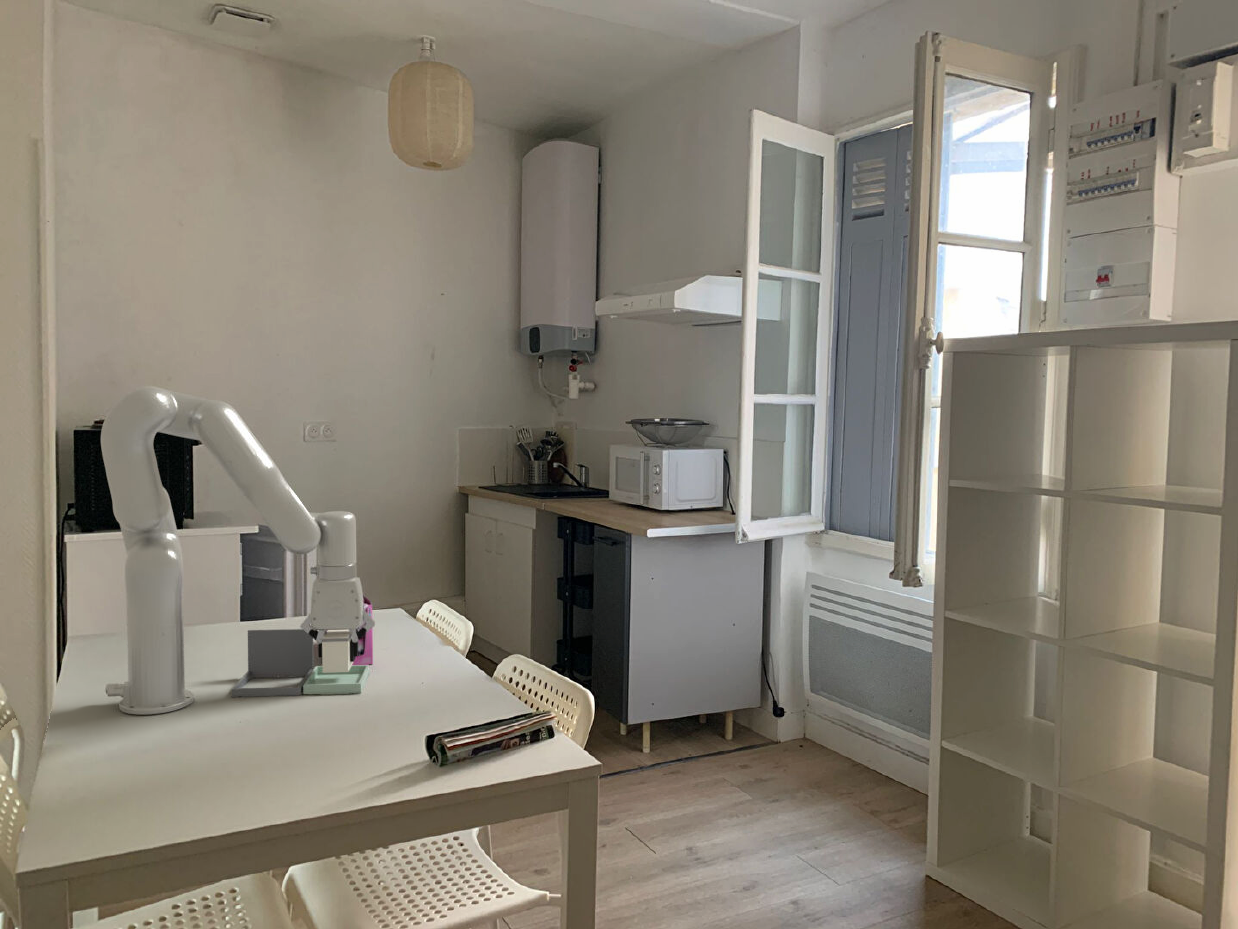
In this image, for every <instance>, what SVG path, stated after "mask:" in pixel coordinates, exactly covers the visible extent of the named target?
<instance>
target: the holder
mask: <svg viewBox="0 0 1238 929" xmlns="http://www.w3.org/2000/svg"><path fill="white" fill-rule="evenodd" d="M313 670H314V638H313V637H311V636H310V635H309V633H307V632H305V631H304V630H303V629H301V628H285V629H284V628H283V629H281V628H279V629H248V630H247V672H246V673H245V674H243V675H242V677H241V678H240V679H239V680H238V681H237V683H236V684H235V685H234V686H233V687H232V688H231V690H230V691H231V698H238V697H239V696H241V697H242V698H243V697H273V696H274V697H275V696H276V697H278V696H277V695H284V696H301V695H302V694H303V685H304V683H305V682H306V680H307V679H308V677H309V676H310V674H311V673H312V671H313ZM278 676H279V677H278ZM282 676H286V677H285V678H288V677H287V676H305V677H304V678H303V680H302V681H301V683H300V684H299V686H281V687H276V686H275V687H247V688H246V687H245V688H244V686H245V685H246V684H247V683H246V682H247V681H248V682H249V681H250V679H251V677H264V678H283V677H282ZM301 693H302V694H301ZM241 697H239V698H241Z"/></svg>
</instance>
